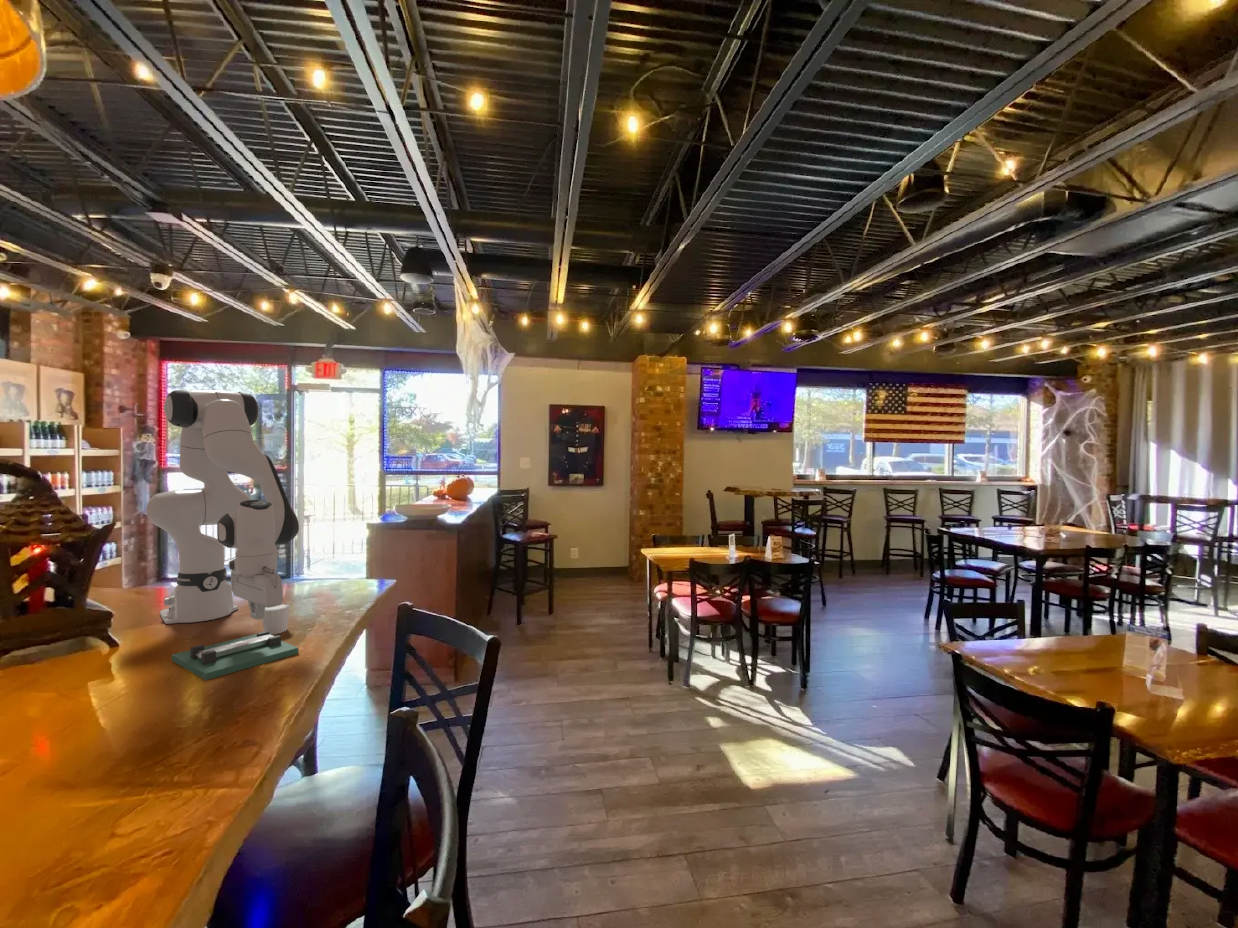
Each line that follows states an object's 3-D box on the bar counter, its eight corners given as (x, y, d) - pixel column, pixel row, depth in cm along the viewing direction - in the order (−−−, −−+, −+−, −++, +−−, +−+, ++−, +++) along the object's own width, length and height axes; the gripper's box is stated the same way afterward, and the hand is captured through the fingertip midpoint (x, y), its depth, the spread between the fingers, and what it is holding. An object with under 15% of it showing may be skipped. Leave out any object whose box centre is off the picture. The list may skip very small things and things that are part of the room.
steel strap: (195, 658, 134) (195, 651, 134) (269, 639, 148) (269, 632, 147) (201, 662, 132) (201, 654, 132) (276, 642, 145) (276, 635, 145)
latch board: (171, 660, 137) (171, 644, 137) (261, 637, 153) (261, 623, 153) (205, 680, 126) (205, 662, 125) (298, 653, 142) (298, 637, 142)
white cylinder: (295, 627, 162) (295, 603, 162) (278, 635, 155) (278, 610, 155) (273, 626, 163) (272, 602, 163) (255, 634, 156) (255, 609, 156)
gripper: (290, 567, 140) (290, 622, 140) (252, 557, 152) (252, 608, 152) (262, 572, 135) (263, 629, 135) (225, 561, 146) (226, 614, 147)
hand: (257, 618), depth 144 cm, fingers closed
